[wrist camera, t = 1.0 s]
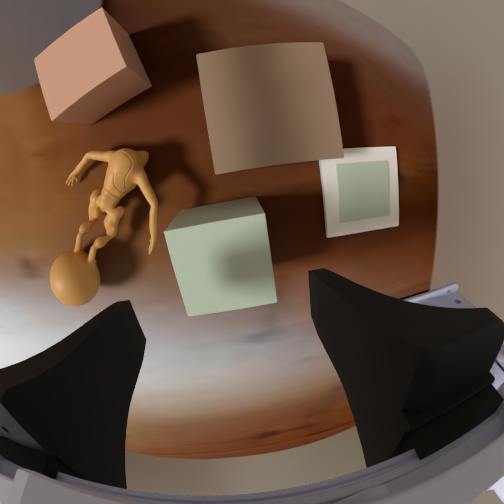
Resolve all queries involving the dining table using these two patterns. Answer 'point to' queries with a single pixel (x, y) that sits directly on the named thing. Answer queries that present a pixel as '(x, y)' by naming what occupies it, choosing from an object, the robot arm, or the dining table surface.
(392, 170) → the swatch
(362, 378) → the robot arm
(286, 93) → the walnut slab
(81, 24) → the terracotta block
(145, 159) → the figurine
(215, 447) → the dining table surface
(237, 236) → the sage block
